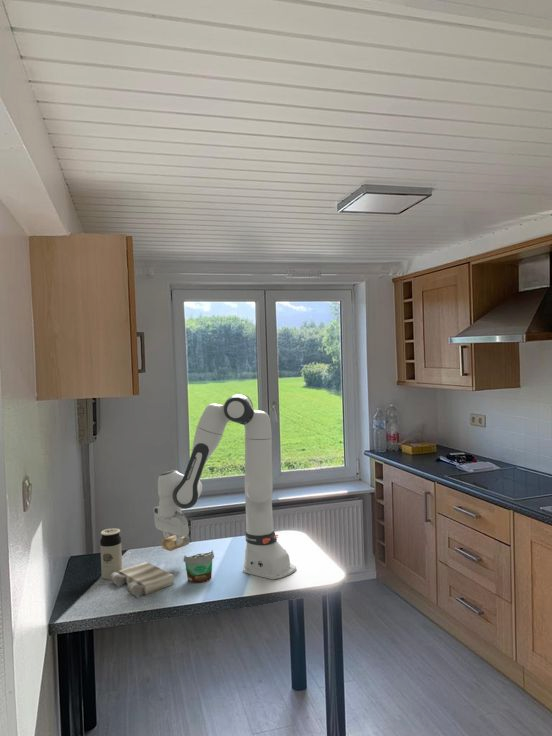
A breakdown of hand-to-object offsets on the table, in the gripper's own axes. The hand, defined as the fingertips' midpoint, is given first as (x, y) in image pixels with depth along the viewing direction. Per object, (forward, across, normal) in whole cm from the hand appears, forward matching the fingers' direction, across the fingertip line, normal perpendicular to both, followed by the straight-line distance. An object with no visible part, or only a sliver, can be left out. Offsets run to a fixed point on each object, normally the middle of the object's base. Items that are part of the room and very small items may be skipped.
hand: (172, 543), depth 212 cm
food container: (+11, -19, 0) cm, 22 cm away
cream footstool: (+10, -3, +17) cm, 20 cm away
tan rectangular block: (+2, 0, -2) cm, 2 cm away
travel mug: (+10, +13, +21) cm, 27 cm away
